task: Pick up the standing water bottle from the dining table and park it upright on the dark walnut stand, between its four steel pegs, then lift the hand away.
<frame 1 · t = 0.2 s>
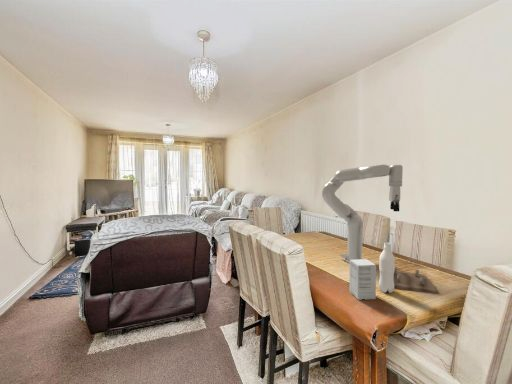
hand: (394, 210, 164), 37 cm above the table, tool pointing down, fingers open, 9 cm apart
water bottle: (386, 291, 130), on the table
peg stand: (407, 282, 140), on the table
supplement box: (362, 295, 125), on the table
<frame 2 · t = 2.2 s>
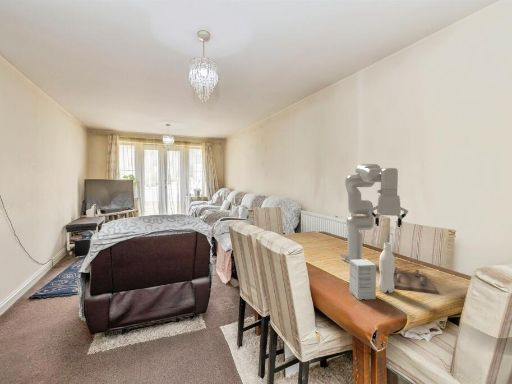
hand: (388, 226, 128), 34 cm above the table, tool pointing down, fingers open, 9 cm apart
nothing on the table moved.
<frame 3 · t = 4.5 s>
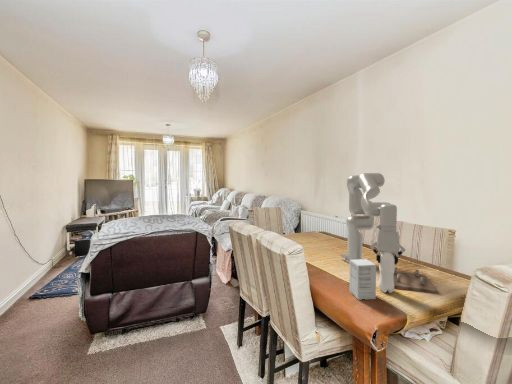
hand: (386, 262, 129), 15 cm above the table, tool pointing down, fingers closed on water bottle, 7 cm apart
water bottle: (386, 291, 130), on the table, touching gripper
everything else where it was.
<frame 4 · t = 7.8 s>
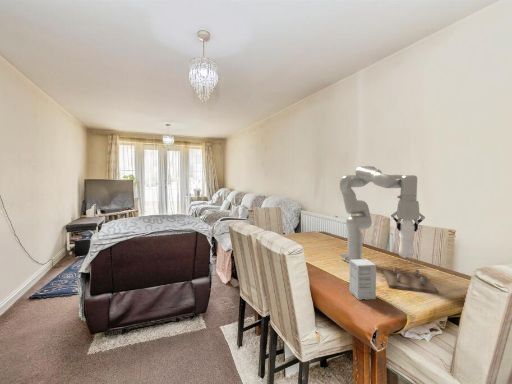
hand: (407, 230, 137), 29 cm above the table, tool pointing down, fingers closed on water bottle, 7 cm apart
water bottle: (405, 257, 138), point 14 cm above the table, touching gripper
everything else where it was.
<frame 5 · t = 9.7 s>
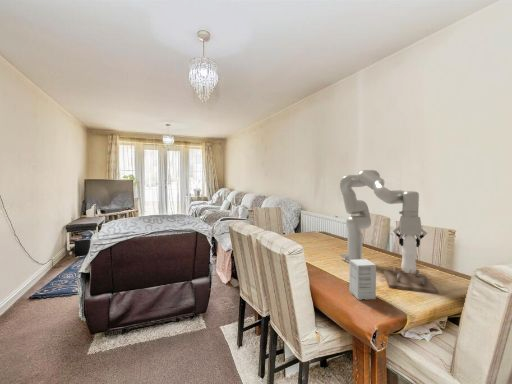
hand: (409, 245, 139), 21 cm above the table, tool pointing down, fingers closed on water bottle, 7 cm apart
water bottle: (408, 272, 140), point 6 cm above the table, touching gripper
everything else where it was.
when the fingers open (18 cm above the table, at t = 11.3 s): water bottle drops 1 cm, resting on peg stand.
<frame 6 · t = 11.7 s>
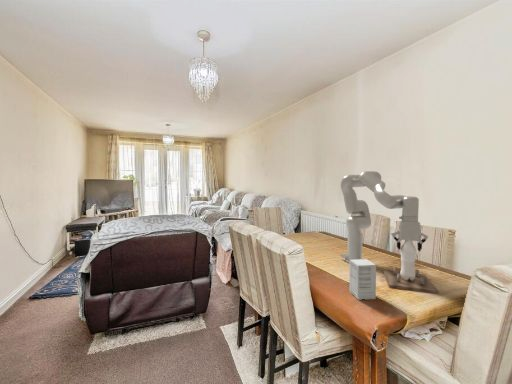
hand: (409, 249, 139), 18 cm above the table, tool pointing down, fingers open, 9 cm apart
water bottle: (407, 279, 140), point 1 cm above the table, touching peg stand
everything else where it was.
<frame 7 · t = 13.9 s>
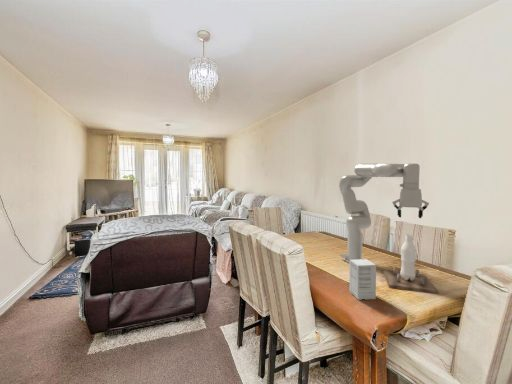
hand: (409, 217, 138), 36 cm above the table, tool pointing down, fingers open, 9 cm apart
nothing on the table moved.
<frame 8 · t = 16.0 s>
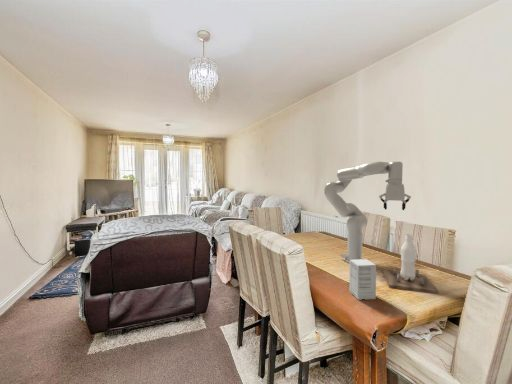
hand: (394, 209, 156), 38 cm above the table, tool pointing down, fingers open, 9 cm apart
nothing on the table moved.
at the end: water bottle 0.3 cm off-centre on the peg stand, point 1.3 cm above the peg stand's base; water bottle tilted 0°; the gripper is holding nothing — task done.
